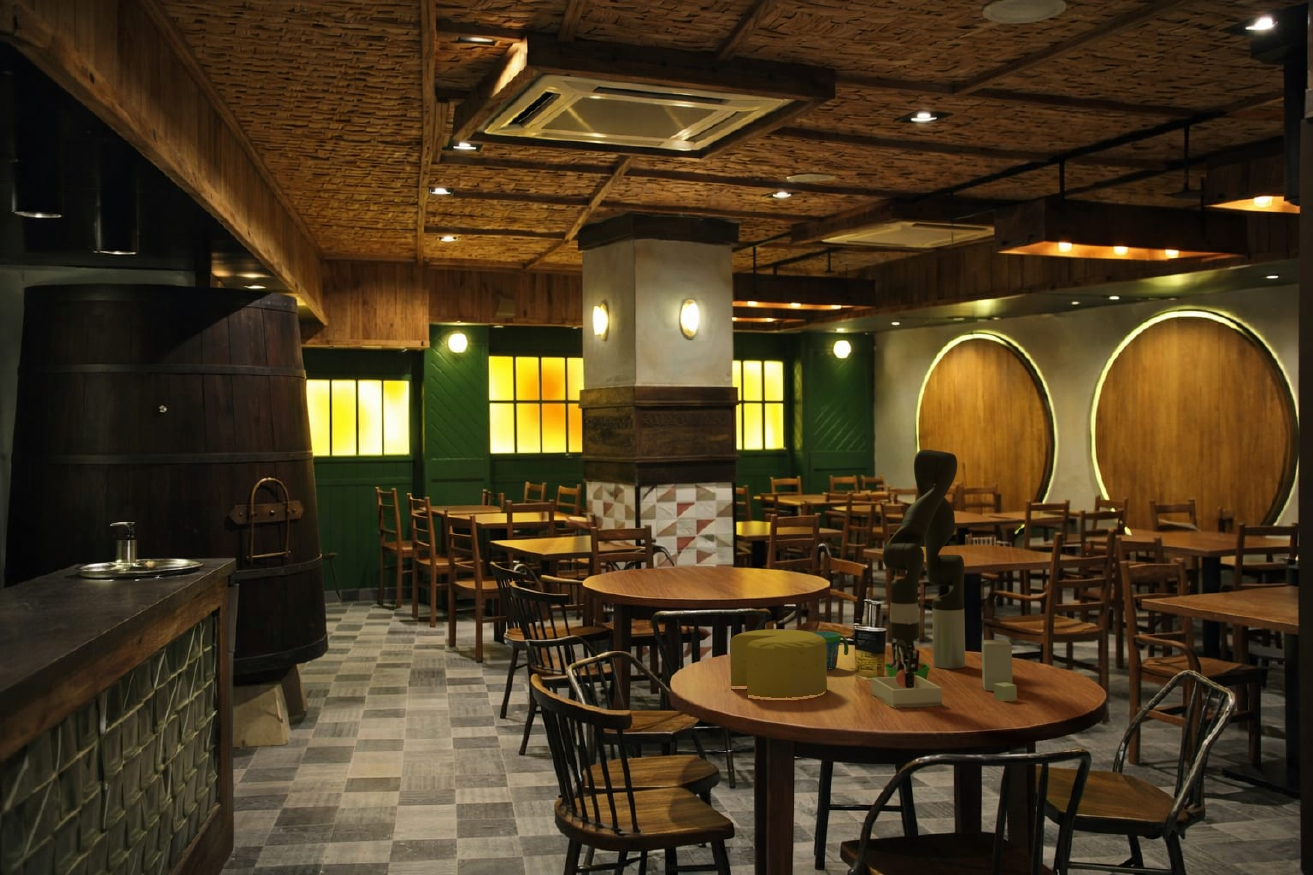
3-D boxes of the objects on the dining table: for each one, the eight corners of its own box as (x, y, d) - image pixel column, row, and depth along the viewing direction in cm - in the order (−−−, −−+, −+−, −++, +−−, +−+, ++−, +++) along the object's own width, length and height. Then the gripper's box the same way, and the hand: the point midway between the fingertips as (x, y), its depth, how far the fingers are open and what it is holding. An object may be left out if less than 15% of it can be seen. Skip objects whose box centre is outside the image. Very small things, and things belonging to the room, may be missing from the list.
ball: (893, 686, 296) (892, 667, 296) (911, 685, 297) (911, 666, 297) (900, 690, 291) (899, 670, 291) (918, 689, 292) (918, 670, 292)
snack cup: (803, 672, 332) (802, 637, 332) (793, 666, 342) (792, 632, 342) (854, 670, 334) (853, 635, 334) (843, 663, 345) (842, 630, 345)
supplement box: (1013, 691, 302) (1012, 644, 302) (984, 690, 303) (983, 643, 304) (1010, 685, 309) (1009, 639, 309) (982, 685, 311) (981, 639, 311)
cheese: (715, 696, 303) (714, 640, 303) (753, 677, 326) (752, 625, 326) (807, 704, 291) (806, 646, 291) (840, 685, 314) (839, 631, 314)
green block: (994, 699, 294) (993, 683, 294) (1006, 697, 296) (1006, 682, 296) (1004, 702, 290) (1004, 686, 290) (1016, 700, 292) (1016, 685, 292)
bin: (871, 694, 301) (871, 677, 301) (918, 692, 303) (917, 675, 303) (893, 708, 285) (892, 690, 285) (942, 705, 287) (941, 687, 287)
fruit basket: (888, 686, 311) (888, 645, 311) (883, 680, 320) (883, 640, 320) (930, 686, 310) (929, 645, 310) (924, 679, 319) (923, 639, 319)
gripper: (881, 616, 301) (882, 680, 301) (900, 624, 287) (902, 692, 286) (908, 615, 302) (909, 679, 302) (929, 623, 288) (930, 690, 288)
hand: (905, 685), depth 294 cm, fingers closed on ball, 4 cm apart
